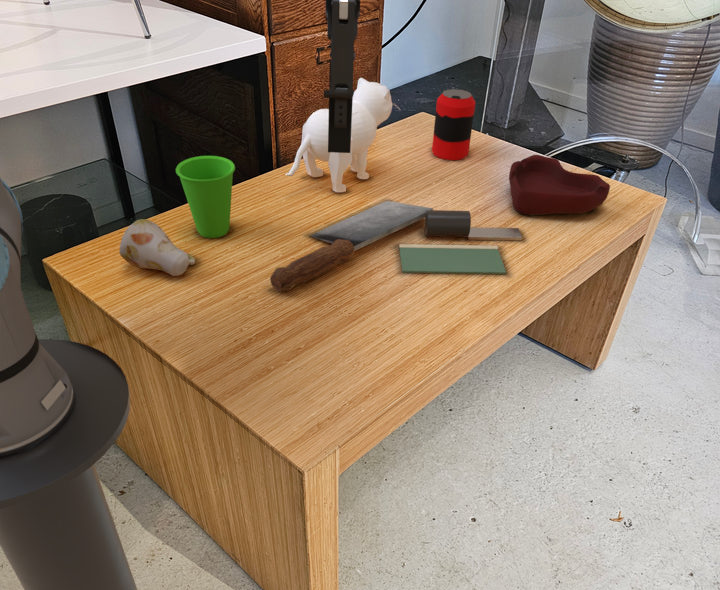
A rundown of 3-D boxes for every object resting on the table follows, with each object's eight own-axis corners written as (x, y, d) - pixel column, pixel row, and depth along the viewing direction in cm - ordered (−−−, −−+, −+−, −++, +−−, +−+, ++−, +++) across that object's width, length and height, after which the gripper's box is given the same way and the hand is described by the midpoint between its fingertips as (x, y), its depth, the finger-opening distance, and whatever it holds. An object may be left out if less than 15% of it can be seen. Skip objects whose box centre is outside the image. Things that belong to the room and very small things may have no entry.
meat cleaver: (386, 200, 119) (387, 179, 117) (434, 222, 113) (436, 201, 111) (237, 270, 101) (234, 247, 98) (285, 301, 95) (283, 277, 92)
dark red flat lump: (477, 197, 121) (481, 171, 118) (533, 175, 129) (538, 150, 126) (556, 236, 111) (562, 209, 108) (611, 209, 119) (619, 183, 116)
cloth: (402, 273, 101) (402, 270, 100) (398, 246, 107) (399, 243, 107) (505, 274, 101) (506, 271, 101) (496, 247, 107) (497, 245, 107)
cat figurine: (304, 209, 116) (301, 113, 105) (270, 188, 122) (264, 95, 111) (406, 172, 129) (413, 84, 118) (371, 155, 135) (375, 69, 124)
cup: (204, 250, 104) (195, 185, 97) (175, 228, 109) (164, 165, 102) (251, 232, 109) (246, 169, 102) (221, 212, 114) (214, 150, 107)
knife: (426, 240, 108) (428, 217, 106) (423, 228, 112) (426, 205, 109) (522, 242, 109) (527, 219, 106) (517, 229, 112) (521, 207, 110)
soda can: (429, 158, 134) (435, 98, 126) (433, 144, 140) (439, 86, 132) (467, 162, 133) (475, 102, 125) (469, 148, 139) (477, 89, 131)
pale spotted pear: (178, 290, 96) (132, 235, 90) (144, 293, 102) (100, 242, 97) (209, 257, 99) (167, 203, 94) (175, 262, 106) (134, 211, 101)
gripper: (386, -43, 62) (372, 172, 75) (373, -77, 81) (364, 99, 95) (306, -47, 61) (306, 169, 75) (312, -80, 81) (312, 97, 94)
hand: (338, 131), depth 85 cm, fingers open, 13 cm apart
